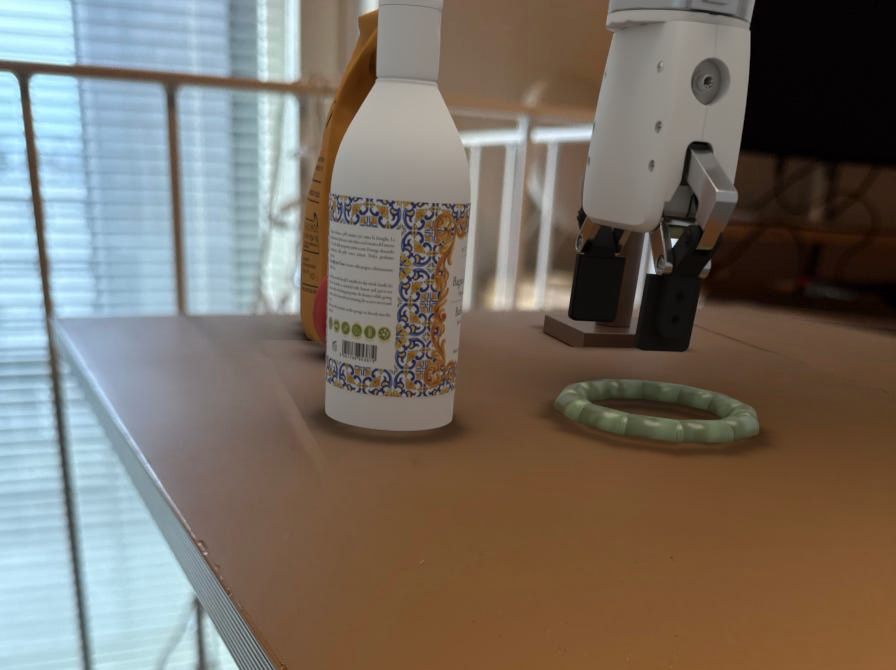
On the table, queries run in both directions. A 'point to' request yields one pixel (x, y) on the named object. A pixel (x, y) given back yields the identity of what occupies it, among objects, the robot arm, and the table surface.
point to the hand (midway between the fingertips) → (623, 334)
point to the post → (624, 324)
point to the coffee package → (339, 118)
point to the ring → (731, 428)
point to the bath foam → (398, 238)
